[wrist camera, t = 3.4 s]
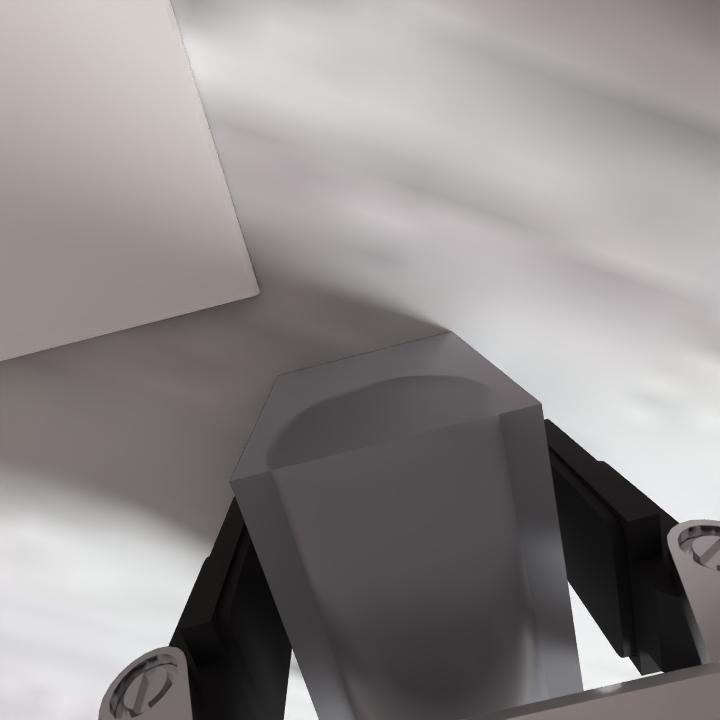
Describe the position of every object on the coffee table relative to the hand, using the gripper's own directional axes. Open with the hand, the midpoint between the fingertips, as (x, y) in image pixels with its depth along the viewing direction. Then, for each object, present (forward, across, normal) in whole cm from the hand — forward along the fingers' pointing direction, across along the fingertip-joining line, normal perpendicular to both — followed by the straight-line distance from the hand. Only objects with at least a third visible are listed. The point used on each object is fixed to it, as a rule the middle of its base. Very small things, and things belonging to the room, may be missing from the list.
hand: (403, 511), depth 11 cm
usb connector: (+1, 0, +1) cm, 2 cm away
